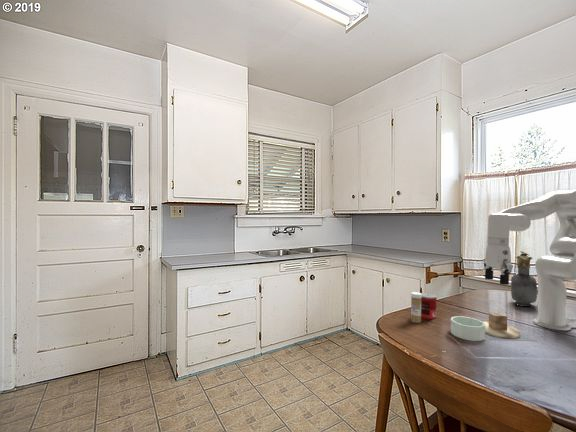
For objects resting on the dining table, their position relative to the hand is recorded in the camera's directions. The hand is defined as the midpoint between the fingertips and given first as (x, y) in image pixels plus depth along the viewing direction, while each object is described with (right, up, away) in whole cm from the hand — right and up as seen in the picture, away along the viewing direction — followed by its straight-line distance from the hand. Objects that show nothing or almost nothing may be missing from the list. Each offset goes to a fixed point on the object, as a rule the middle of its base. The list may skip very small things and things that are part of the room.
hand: (496, 281), depth 123 cm
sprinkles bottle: (-30, -22, +11) cm, 38 cm away
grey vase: (+42, -22, +37) cm, 60 cm away
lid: (0, -21, -1) cm, 21 cm away
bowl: (-15, -22, -4) cm, 27 cm away
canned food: (-21, -22, +17) cm, 35 cm away
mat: (0, -22, -1) cm, 22 cm away
